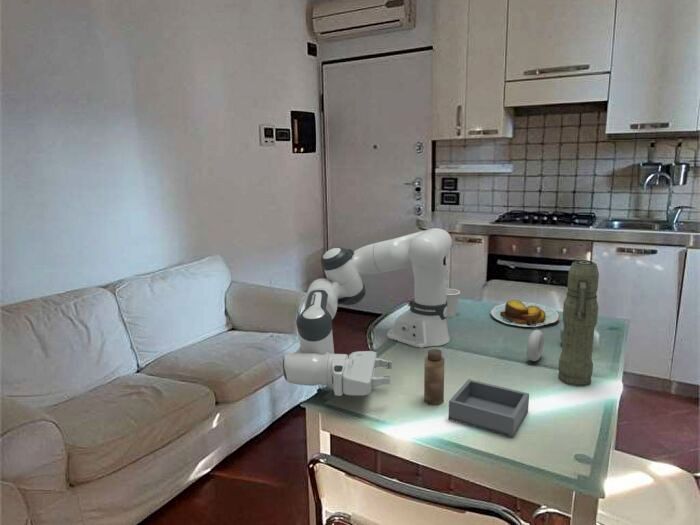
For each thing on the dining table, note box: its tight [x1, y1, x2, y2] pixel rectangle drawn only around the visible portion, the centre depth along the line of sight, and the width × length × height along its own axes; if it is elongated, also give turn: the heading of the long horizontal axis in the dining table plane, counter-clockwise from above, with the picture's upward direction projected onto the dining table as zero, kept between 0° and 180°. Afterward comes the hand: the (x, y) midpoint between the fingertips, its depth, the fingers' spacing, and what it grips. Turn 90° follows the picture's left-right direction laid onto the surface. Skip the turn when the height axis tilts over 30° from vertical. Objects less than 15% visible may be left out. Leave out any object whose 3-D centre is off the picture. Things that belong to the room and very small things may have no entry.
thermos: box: [557, 259, 600, 387], centre depth 140 cm, size 9×12×35 cm
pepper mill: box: [423, 348, 445, 406], centre depth 132 cm, size 5×5×14 cm
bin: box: [448, 378, 530, 439], centre depth 125 cm, size 16×14×5 cm
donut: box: [526, 329, 545, 362], centre depth 156 cm, size 10×3×10 cm, turn 145°
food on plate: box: [490, 299, 560, 328], centre depth 195 cm, size 25×25×7 cm
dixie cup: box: [446, 288, 461, 318], centre depth 200 cm, size 8×8×10 cm
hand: (391, 372), depth 133 cm, fingers open, 8 cm apart
